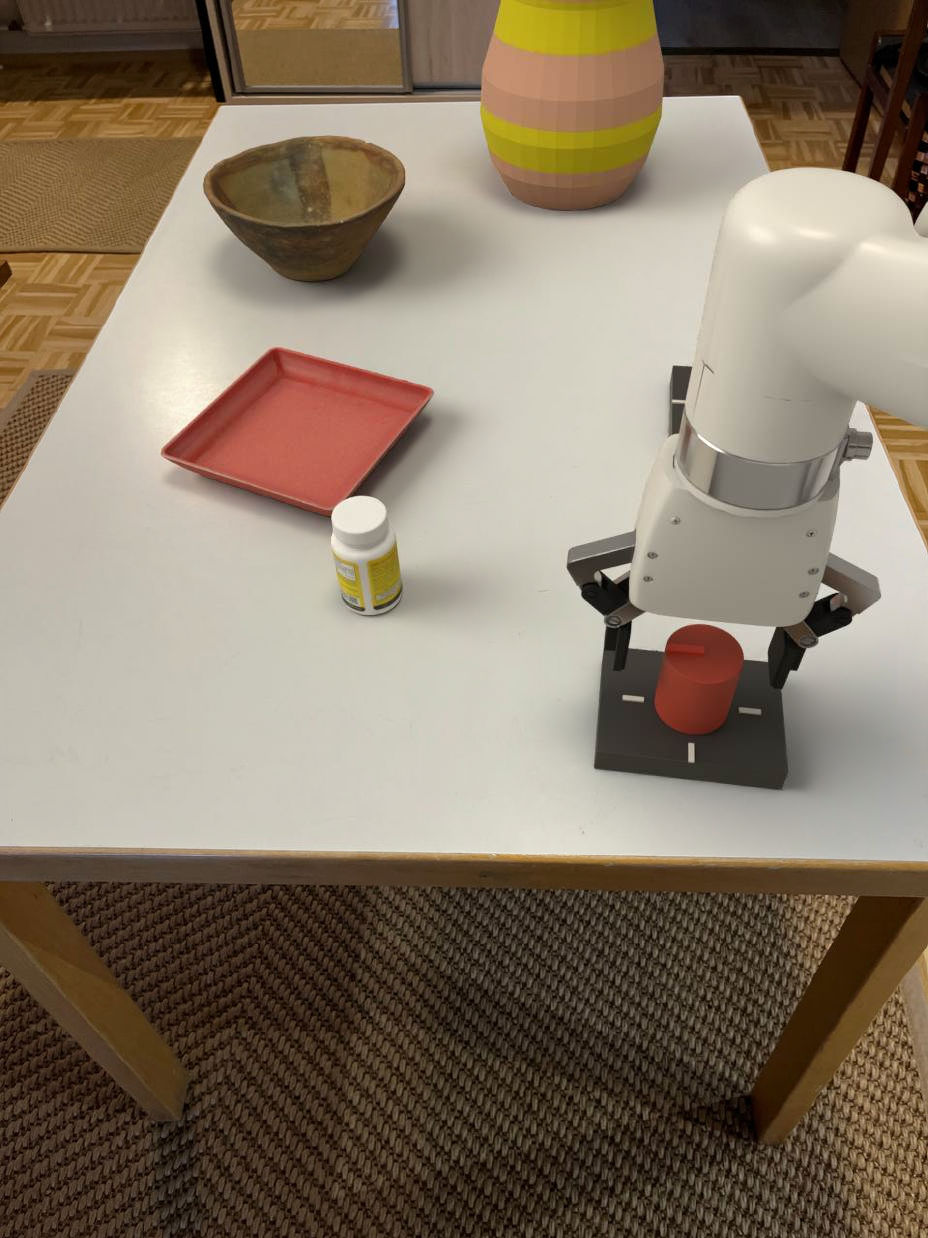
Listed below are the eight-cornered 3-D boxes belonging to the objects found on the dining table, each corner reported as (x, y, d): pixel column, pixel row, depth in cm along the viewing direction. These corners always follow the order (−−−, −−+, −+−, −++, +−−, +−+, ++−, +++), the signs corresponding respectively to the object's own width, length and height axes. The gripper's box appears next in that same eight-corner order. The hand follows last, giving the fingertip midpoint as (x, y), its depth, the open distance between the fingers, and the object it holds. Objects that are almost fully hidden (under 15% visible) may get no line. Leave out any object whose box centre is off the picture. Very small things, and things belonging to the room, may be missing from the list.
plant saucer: (339, 539, 76) (333, 509, 73) (165, 481, 82) (154, 451, 79) (439, 417, 86) (437, 387, 84) (279, 373, 92) (272, 344, 90)
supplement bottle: (404, 572, 73) (395, 491, 67) (400, 617, 70) (390, 536, 64) (344, 572, 73) (329, 492, 67) (338, 617, 70) (322, 536, 64)
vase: (468, 156, 125) (461, -124, 103) (626, 141, 127) (653, -138, 104) (498, 231, 111) (497, -76, 88) (675, 212, 112) (719, -93, 90)
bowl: (408, 210, 115) (401, 125, 107) (415, 306, 100) (408, 215, 92) (232, 221, 114) (213, 137, 107) (212, 319, 99) (189, 229, 92)
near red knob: (726, 680, 63) (743, 624, 58) (729, 739, 59) (747, 684, 55) (655, 673, 63) (666, 617, 59) (653, 730, 60) (665, 676, 56)
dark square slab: (669, 382, 89) (672, 363, 87) (765, 388, 88) (770, 369, 86) (668, 461, 81) (671, 441, 80) (773, 469, 80) (779, 449, 78)
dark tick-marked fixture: (772, 680, 65) (779, 661, 63) (781, 790, 59) (789, 772, 58) (601, 662, 67) (604, 643, 65) (593, 768, 61) (596, 750, 59)
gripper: (927, 413, 47) (831, 632, 60) (584, 387, 49) (563, 604, 62) (955, 513, 42) (844, 727, 55) (573, 479, 44) (553, 694, 57)
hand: (696, 662), depth 58 cm, fingers open, 9 cm apart
